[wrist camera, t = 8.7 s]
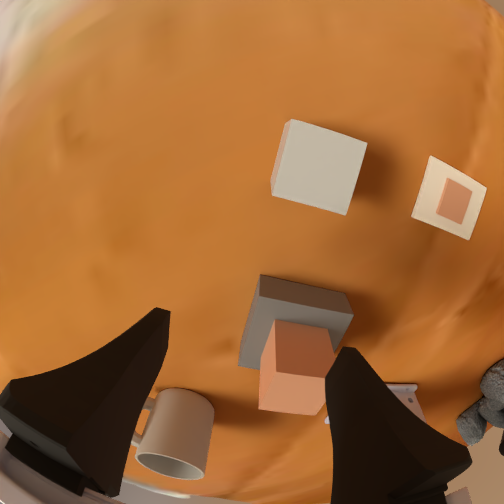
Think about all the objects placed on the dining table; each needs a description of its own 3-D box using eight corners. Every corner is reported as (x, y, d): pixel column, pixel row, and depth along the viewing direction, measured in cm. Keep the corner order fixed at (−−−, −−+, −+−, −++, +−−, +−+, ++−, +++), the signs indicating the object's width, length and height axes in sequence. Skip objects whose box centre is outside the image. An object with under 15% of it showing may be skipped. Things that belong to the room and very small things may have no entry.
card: (484, 187, 17) (488, 188, 16) (467, 239, 19) (470, 241, 18) (429, 155, 17) (433, 156, 16) (410, 216, 19) (414, 218, 18)
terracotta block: (308, 365, 21) (315, 415, 16) (260, 357, 21) (258, 409, 16) (327, 328, 19) (340, 379, 15) (274, 319, 19) (275, 371, 15)
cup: (202, 426, 31) (190, 483, 22) (130, 395, 29) (106, 451, 21) (225, 402, 28) (215, 470, 20) (142, 366, 26) (113, 431, 18)
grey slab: (344, 293, 21) (354, 314, 19) (315, 354, 24) (319, 378, 22) (260, 274, 21) (259, 295, 18) (241, 341, 24) (238, 365, 21)
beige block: (342, 140, 17) (367, 143, 12) (326, 195, 19) (345, 215, 14) (284, 123, 17) (291, 118, 12) (270, 180, 18) (272, 195, 14)
